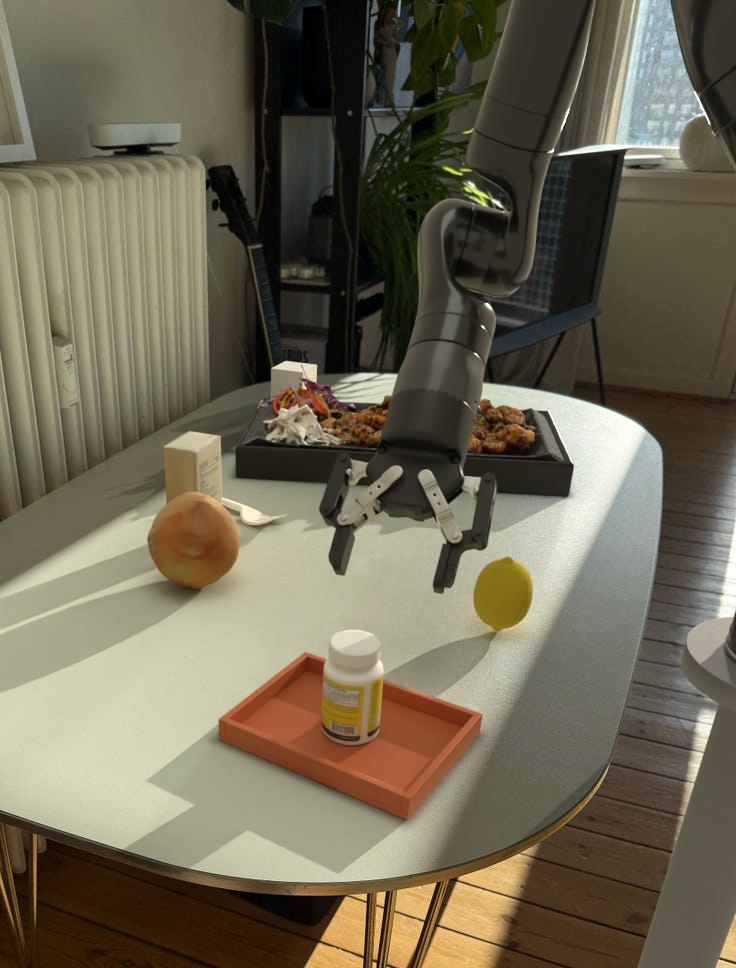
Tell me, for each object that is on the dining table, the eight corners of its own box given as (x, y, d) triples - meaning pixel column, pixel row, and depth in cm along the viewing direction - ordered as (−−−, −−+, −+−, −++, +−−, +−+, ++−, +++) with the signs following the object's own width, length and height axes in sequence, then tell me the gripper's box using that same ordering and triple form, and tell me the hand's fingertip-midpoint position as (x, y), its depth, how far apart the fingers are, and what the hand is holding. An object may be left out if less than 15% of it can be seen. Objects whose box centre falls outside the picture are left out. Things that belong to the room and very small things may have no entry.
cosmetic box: (192, 526, 114) (189, 429, 108) (224, 533, 113) (223, 434, 106) (166, 546, 109) (161, 445, 103) (198, 553, 108) (195, 450, 101)
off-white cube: (315, 399, 164) (317, 364, 161) (302, 407, 159) (303, 372, 156) (284, 394, 166) (285, 360, 163) (270, 403, 162) (271, 368, 159)
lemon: (477, 612, 95) (487, 541, 91) (531, 625, 93) (544, 552, 89) (461, 636, 91) (471, 562, 87) (518, 649, 89) (531, 574, 85)
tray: (479, 733, 77) (483, 713, 76) (407, 820, 68) (409, 799, 67) (304, 670, 86) (305, 651, 85) (218, 739, 76) (218, 719, 75)
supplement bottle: (363, 709, 79) (369, 622, 75) (389, 740, 75) (397, 650, 71) (311, 720, 78) (315, 632, 73) (335, 752, 74) (340, 662, 70)
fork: (184, 484, 127) (183, 471, 126) (289, 527, 114) (290, 512, 113) (165, 490, 125) (165, 477, 124) (271, 534, 112) (271, 520, 111)
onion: (134, 575, 102) (129, 489, 97) (214, 556, 107) (212, 473, 102) (173, 611, 95) (169, 520, 90) (257, 589, 100) (257, 501, 95)
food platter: (235, 477, 129) (235, 404, 124) (259, 425, 150) (260, 360, 145) (568, 496, 124) (582, 420, 119) (545, 439, 145) (556, 372, 140)
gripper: (346, 377, 80) (296, 550, 76) (515, 394, 75) (470, 580, 71) (361, 421, 87) (315, 582, 83) (516, 440, 82) (475, 611, 78)
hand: (387, 581), depth 77 cm, fingers open, 8 cm apart
